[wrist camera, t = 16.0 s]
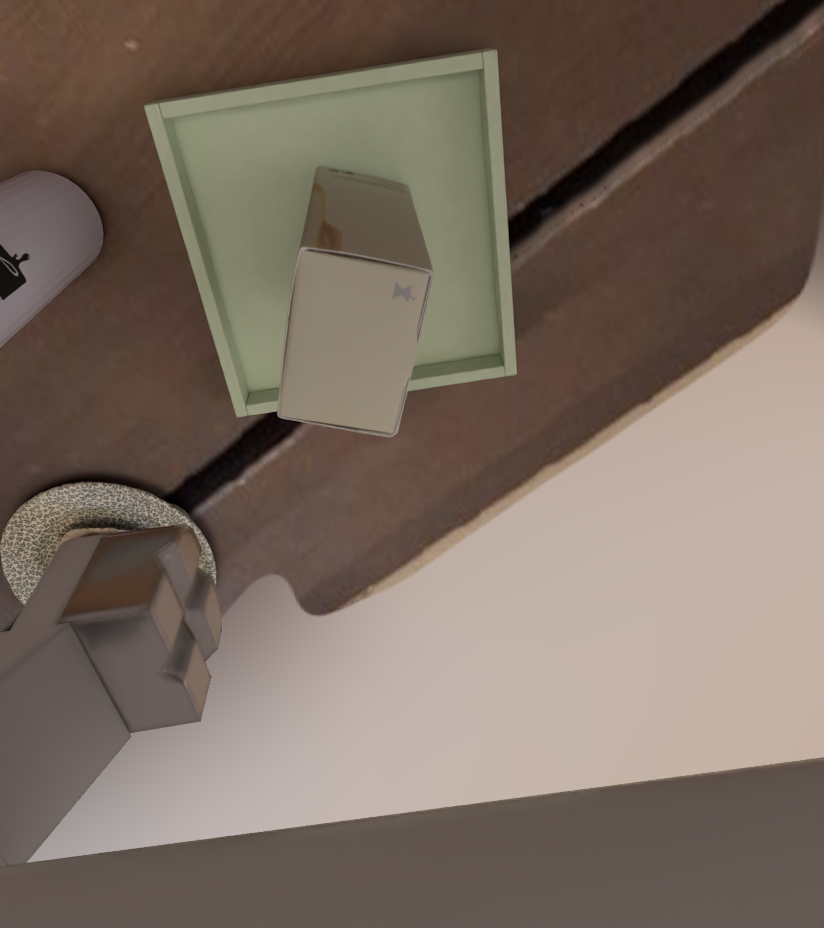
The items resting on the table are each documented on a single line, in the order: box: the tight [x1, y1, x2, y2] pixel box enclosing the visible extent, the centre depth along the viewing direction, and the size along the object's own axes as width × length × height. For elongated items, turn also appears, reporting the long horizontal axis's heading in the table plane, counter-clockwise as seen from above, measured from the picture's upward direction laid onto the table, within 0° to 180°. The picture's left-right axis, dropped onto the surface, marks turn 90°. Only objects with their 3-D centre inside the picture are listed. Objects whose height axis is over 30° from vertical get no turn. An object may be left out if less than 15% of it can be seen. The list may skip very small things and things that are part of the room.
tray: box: [144, 48, 517, 417], centre depth 33 cm, size 14×14×2 cm
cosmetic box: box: [277, 166, 434, 437], centre depth 28 cm, size 6×4×12 cm
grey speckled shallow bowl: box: [0, 482, 216, 606], centre depth 41 cm, size 12×12×5 cm
